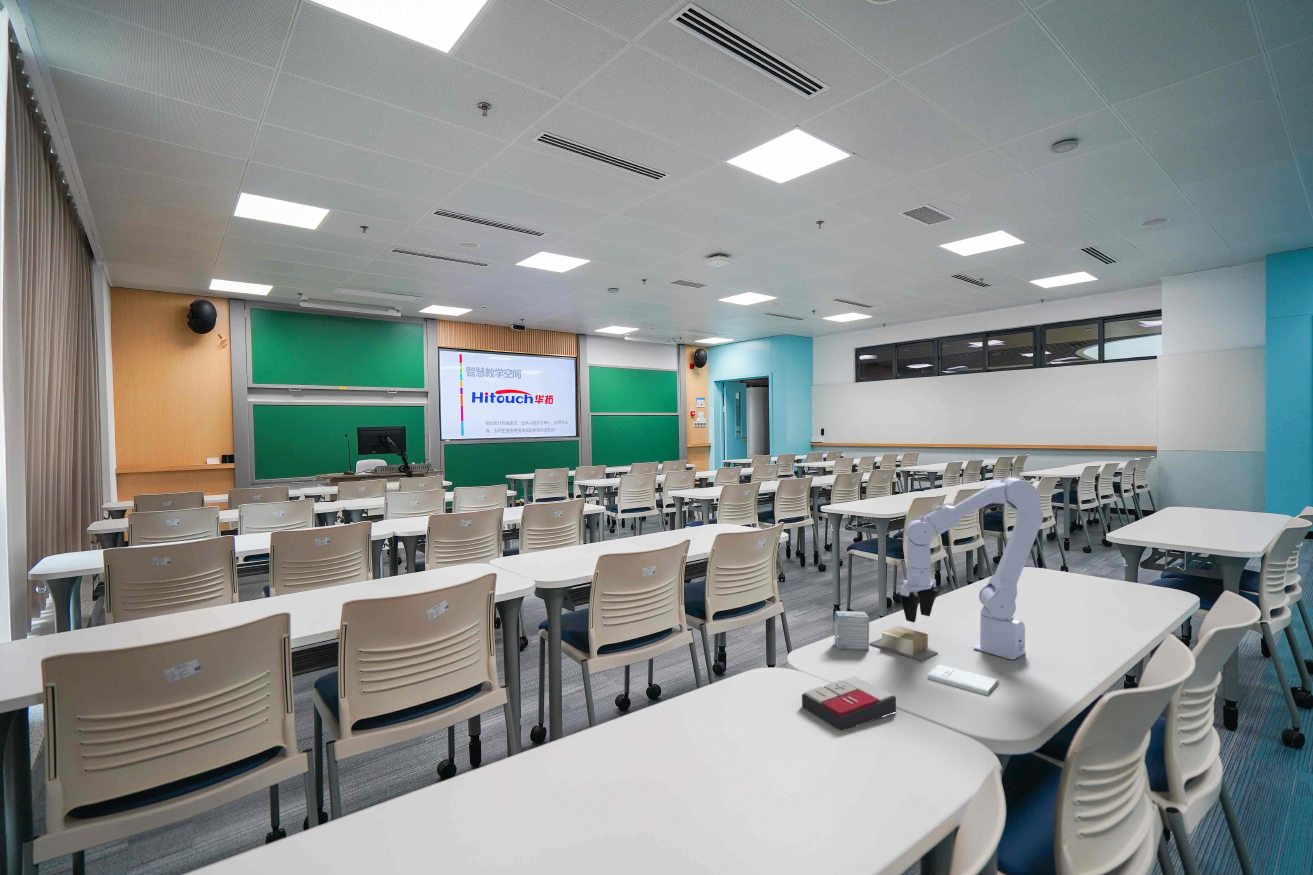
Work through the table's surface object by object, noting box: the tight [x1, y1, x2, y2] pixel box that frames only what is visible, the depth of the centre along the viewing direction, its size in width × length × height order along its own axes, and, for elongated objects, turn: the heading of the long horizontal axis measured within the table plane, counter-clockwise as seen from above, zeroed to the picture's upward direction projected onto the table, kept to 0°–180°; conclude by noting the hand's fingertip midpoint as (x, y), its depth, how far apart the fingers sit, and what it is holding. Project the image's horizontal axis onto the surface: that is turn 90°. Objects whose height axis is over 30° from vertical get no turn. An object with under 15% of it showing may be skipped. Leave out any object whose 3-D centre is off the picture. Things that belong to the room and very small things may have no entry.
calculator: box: [801, 675, 897, 731], centre depth 120 cm, size 11×4×15 cm
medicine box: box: [834, 610, 870, 651], centre depth 153 cm, size 8×4×9 cm, turn 84°
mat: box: [869, 637, 939, 662], centre depth 152 cm, size 14×8×1 cm, turn 38°
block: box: [881, 625, 929, 655], centre depth 152 cm, size 8×4×8 cm
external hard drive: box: [926, 664, 999, 696], centre depth 133 cm, size 2×8×12 cm
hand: (918, 618), depth 156 cm, fingers open, 7 cm apart
